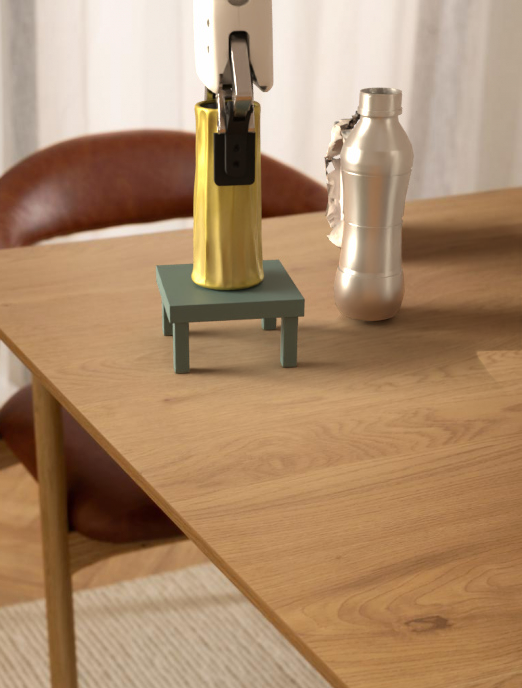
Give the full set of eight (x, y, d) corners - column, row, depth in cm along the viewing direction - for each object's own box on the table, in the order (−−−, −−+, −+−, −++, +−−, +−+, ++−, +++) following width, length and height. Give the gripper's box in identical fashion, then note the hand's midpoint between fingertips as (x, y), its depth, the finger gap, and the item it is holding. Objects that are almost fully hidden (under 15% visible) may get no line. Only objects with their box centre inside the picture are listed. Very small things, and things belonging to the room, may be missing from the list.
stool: (277, 323, 108) (279, 259, 105) (302, 368, 98) (305, 298, 95) (157, 329, 107) (155, 265, 104) (170, 375, 97) (169, 305, 94)
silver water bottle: (337, 329, 106) (348, 98, 97) (327, 305, 112) (337, 85, 103) (408, 328, 106) (427, 97, 97) (395, 304, 112) (411, 84, 103)
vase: (240, 264, 103) (241, 94, 97) (277, 283, 98) (281, 106, 92) (178, 275, 101) (175, 101, 94) (213, 295, 96) (212, 113, 89)
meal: (380, 264, 123) (389, 136, 117) (339, 265, 123) (346, 137, 117) (357, 226, 136) (364, 109, 130) (320, 226, 136) (325, 109, 130)
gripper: (303, -68, 80) (295, 199, 88) (258, -79, 95) (255, 151, 103) (192, -66, 79) (195, 204, 87) (165, -77, 94) (170, 155, 103)
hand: (228, 173), depth 95 cm, fingers closed on vase, 5 cm apart
